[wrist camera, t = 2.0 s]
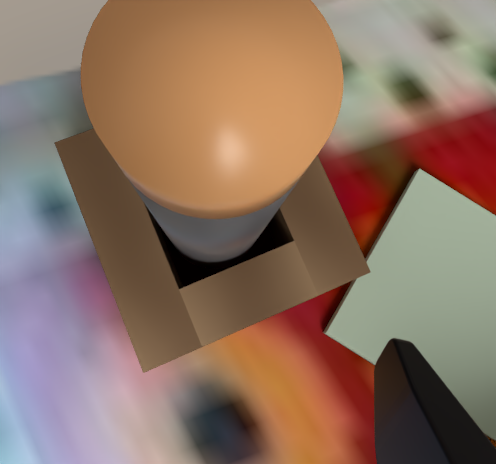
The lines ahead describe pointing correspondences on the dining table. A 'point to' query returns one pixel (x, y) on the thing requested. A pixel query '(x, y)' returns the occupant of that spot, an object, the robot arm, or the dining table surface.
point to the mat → (431, 293)
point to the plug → (212, 110)
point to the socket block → (218, 285)
